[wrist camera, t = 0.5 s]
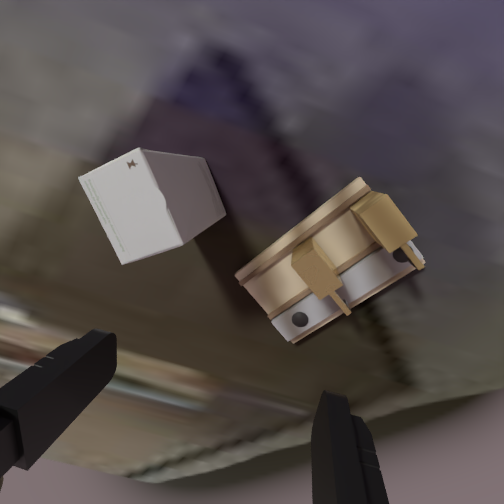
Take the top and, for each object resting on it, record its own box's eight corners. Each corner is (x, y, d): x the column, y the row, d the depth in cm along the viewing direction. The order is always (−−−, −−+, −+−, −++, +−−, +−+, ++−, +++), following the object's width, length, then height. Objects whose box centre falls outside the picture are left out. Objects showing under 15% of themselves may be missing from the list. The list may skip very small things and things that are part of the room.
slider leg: (311, 236, 33) (313, 248, 27) (351, 285, 34) (361, 307, 28) (292, 250, 34) (290, 265, 28) (331, 298, 35) (337, 321, 29)
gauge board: (358, 177, 32) (374, 177, 25) (420, 258, 33) (453, 281, 26) (236, 271, 38) (222, 293, 31) (293, 337, 39) (292, 373, 32)
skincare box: (164, 173, 36) (71, 172, 21) (208, 155, 34) (139, 140, 20) (188, 231, 38) (117, 267, 23) (230, 216, 36) (183, 246, 21)
